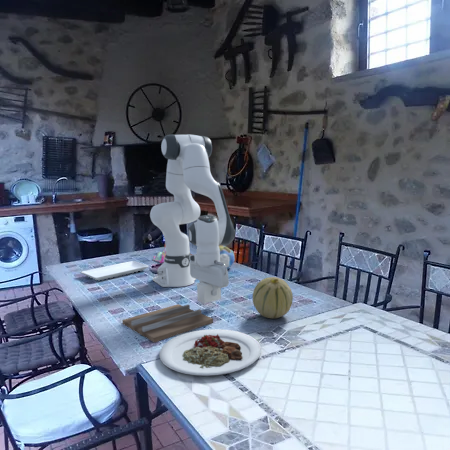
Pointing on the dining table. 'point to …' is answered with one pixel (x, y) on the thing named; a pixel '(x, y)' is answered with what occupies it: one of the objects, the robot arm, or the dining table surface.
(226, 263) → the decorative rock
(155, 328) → the rail panel
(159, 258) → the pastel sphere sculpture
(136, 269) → the tray
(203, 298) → the rail module
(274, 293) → the cantaloupe
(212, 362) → the plated food
